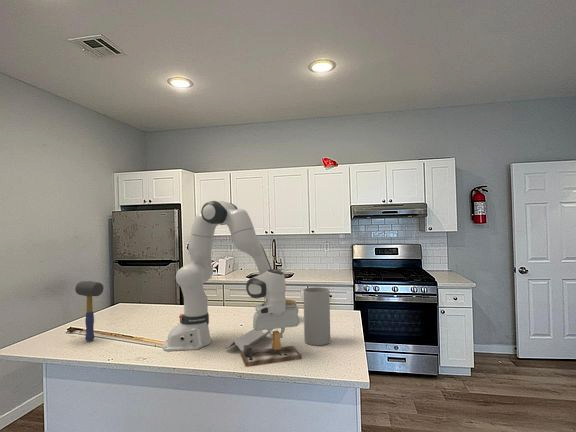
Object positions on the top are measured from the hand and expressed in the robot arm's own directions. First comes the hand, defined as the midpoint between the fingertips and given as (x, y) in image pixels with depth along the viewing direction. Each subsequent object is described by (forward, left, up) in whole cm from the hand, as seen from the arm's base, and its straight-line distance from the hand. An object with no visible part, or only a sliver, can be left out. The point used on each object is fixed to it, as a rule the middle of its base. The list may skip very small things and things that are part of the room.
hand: (276, 338), depth 151 cm
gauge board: (-3, -2, -7) cm, 8 cm away
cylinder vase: (+23, +9, -7) cm, 26 cm away
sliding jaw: (0, -3, -5) cm, 6 cm away
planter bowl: (+17, +48, -7) cm, 51 cm away
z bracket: (-8, +16, -7) cm, 19 cm away
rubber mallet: (-84, +48, -7) cm, 97 cm away
